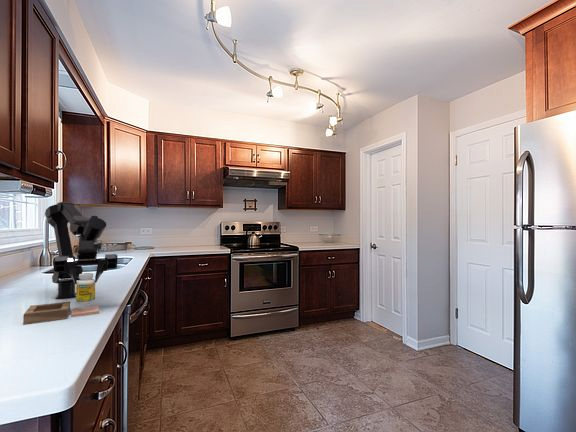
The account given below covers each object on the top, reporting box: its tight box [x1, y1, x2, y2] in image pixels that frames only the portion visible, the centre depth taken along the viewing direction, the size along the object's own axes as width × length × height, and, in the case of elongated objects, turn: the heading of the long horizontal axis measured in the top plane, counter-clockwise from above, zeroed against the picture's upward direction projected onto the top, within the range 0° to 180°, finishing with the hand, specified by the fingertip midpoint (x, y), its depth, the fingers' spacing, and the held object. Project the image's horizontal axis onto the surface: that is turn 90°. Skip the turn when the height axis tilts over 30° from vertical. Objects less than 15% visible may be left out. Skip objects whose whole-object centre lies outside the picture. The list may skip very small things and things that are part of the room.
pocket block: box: [22, 301, 71, 326], centre depth 98 cm, size 11×11×3 cm
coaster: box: [70, 305, 100, 318], centre depth 104 cm, size 8×8×1 cm
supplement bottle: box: [75, 272, 96, 305], centre depth 104 cm, size 5×5×10 cm
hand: (85, 282), depth 103 cm, fingers closed on supplement bottle, 5 cm apart
